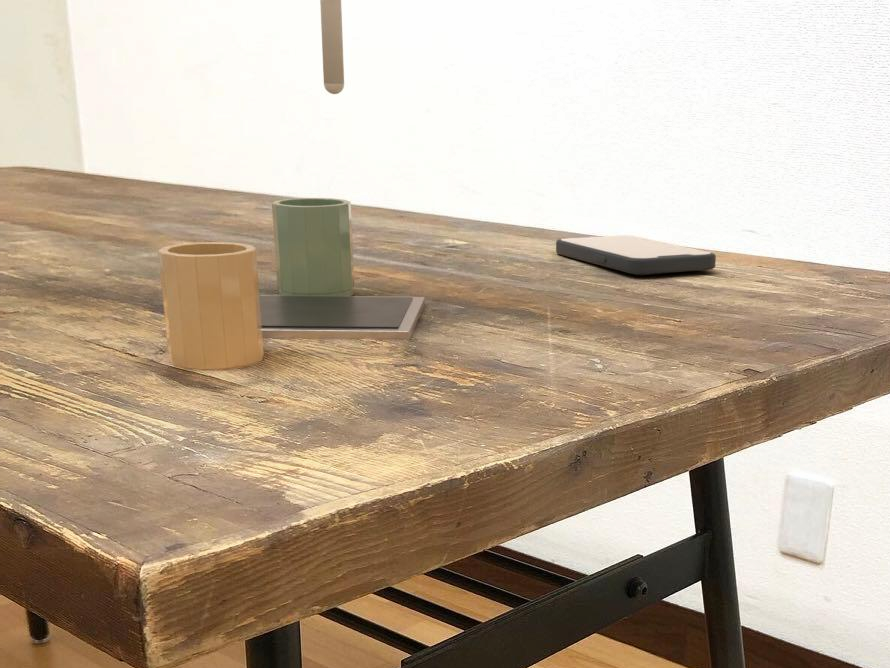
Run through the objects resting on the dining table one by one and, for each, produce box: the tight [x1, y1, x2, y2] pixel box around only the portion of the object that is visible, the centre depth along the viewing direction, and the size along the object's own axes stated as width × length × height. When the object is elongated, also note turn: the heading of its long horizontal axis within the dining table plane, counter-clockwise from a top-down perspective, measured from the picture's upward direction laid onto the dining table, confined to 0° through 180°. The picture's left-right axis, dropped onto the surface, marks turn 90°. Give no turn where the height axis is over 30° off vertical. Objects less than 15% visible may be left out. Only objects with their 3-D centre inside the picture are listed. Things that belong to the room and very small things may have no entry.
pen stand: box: [157, 241, 265, 371], centre depth 73 cm, size 5×6×7 cm
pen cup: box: [271, 197, 355, 296], centre depth 95 cm, size 6×6×7 cm
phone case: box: [555, 234, 717, 277], centre depth 112 cm, size 9×2×16 cm
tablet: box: [161, 294, 426, 341], centre depth 85 cm, size 16×12×1 cm
